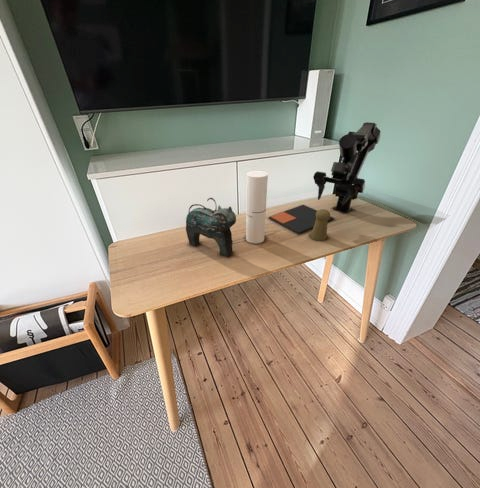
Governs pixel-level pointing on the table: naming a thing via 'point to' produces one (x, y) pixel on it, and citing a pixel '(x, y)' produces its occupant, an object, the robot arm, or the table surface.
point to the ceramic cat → (211, 226)
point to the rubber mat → (297, 219)
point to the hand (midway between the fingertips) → (330, 202)
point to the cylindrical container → (256, 205)
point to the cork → (320, 225)
